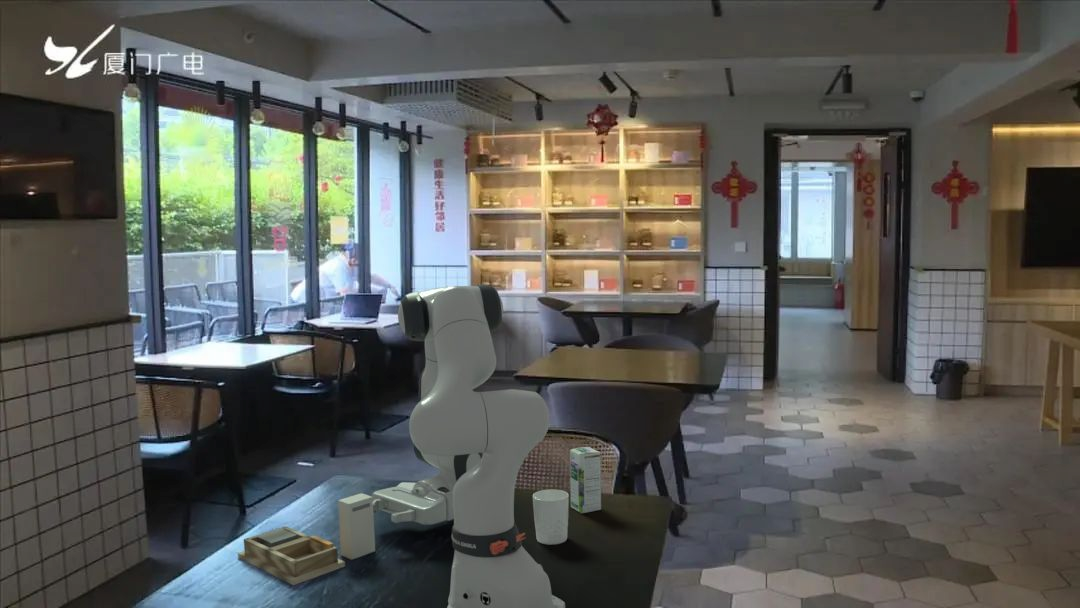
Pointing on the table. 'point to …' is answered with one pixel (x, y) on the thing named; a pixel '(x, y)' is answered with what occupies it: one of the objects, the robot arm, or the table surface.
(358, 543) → the white carton
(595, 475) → the syrup box
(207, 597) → the table surface
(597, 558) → the table surface
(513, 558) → the robot arm
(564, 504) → the white cup
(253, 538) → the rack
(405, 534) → the table surface
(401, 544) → the table surface
